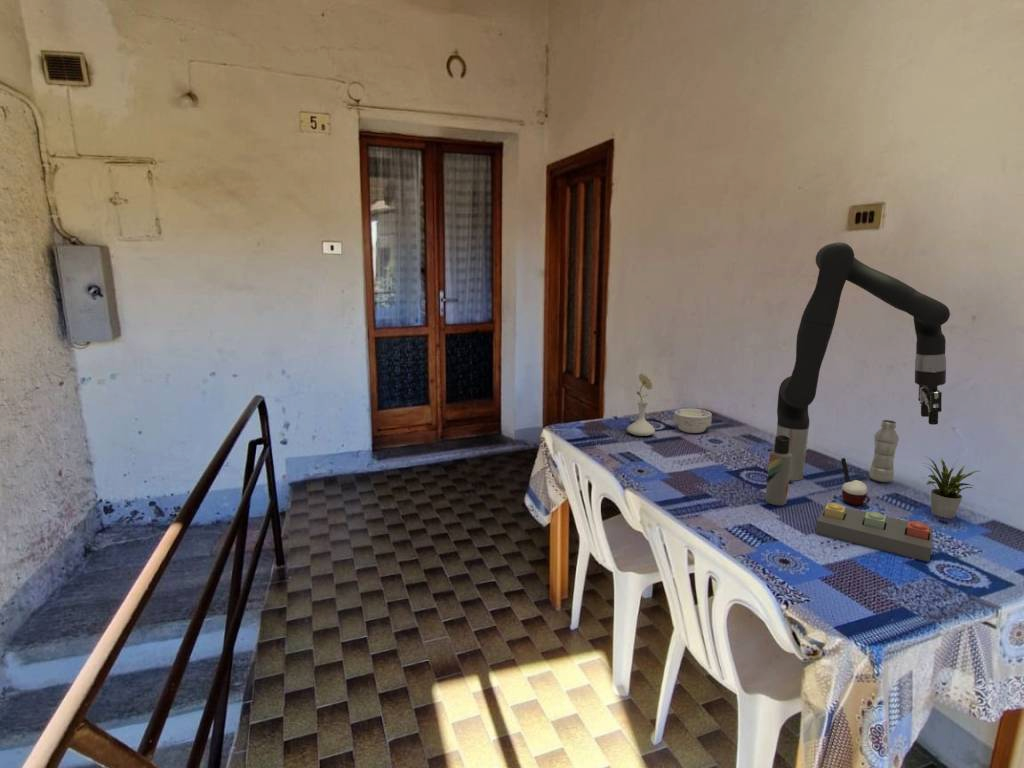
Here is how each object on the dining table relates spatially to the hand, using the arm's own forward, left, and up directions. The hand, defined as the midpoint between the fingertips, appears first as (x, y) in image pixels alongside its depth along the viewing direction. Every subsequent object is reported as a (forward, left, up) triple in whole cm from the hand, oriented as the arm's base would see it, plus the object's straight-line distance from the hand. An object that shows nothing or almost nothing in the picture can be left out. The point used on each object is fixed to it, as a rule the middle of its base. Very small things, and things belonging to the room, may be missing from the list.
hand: (929, 420), depth 173 cm
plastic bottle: (-10, 0, -22) cm, 25 cm away
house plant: (+5, -19, -22) cm, 30 cm away
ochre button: (-17, -47, -20) cm, 53 cm away
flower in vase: (-94, +1, -22) cm, 97 cm away
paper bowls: (-79, +19, -23) cm, 84 cm away
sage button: (-8, -47, -20) cm, 51 cm away
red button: (+1, -47, -20) cm, 51 cm away
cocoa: (-15, -25, -23) cm, 37 cm away
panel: (-8, -47, -22) cm, 52 cm away
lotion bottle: (-33, -39, -22) cm, 56 cm away
